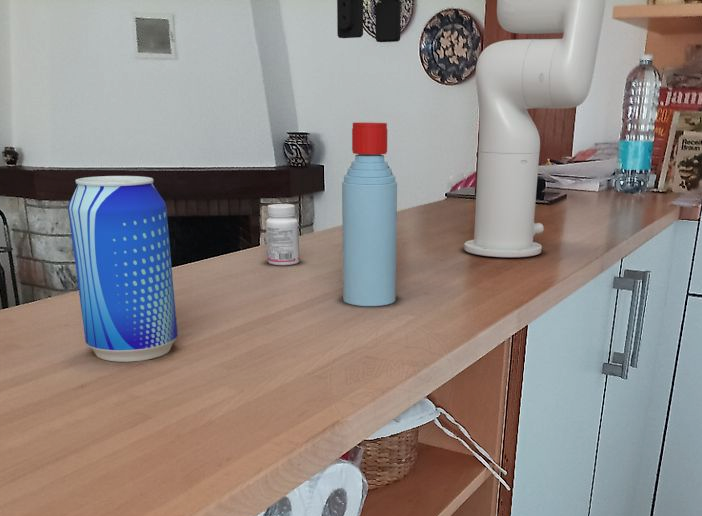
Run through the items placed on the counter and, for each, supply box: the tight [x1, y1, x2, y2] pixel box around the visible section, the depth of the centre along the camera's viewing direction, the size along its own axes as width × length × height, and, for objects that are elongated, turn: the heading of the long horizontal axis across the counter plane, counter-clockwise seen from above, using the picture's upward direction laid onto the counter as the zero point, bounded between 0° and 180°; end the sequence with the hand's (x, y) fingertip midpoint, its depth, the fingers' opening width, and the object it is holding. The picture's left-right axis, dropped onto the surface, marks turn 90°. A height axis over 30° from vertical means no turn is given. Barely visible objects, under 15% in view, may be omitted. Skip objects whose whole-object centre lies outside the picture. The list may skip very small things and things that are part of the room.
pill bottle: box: [265, 203, 301, 266], centre depth 115 cm, size 5×5×8 cm
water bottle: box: [341, 154, 398, 307], centre depth 92 cm, size 6×6×20 cm
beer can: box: [67, 175, 179, 363], centre depth 72 cm, size 8×8×16 cm
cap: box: [351, 122, 388, 155], centre depth 89 cm, size 4×4×3 cm
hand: (369, 37), depth 85 cm, fingers open, 5 cm apart
